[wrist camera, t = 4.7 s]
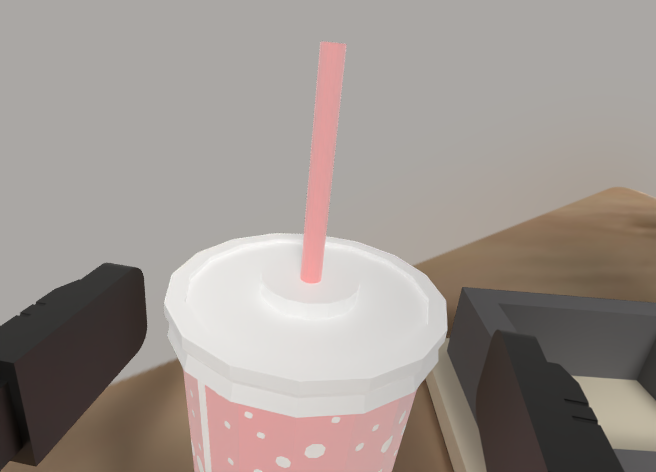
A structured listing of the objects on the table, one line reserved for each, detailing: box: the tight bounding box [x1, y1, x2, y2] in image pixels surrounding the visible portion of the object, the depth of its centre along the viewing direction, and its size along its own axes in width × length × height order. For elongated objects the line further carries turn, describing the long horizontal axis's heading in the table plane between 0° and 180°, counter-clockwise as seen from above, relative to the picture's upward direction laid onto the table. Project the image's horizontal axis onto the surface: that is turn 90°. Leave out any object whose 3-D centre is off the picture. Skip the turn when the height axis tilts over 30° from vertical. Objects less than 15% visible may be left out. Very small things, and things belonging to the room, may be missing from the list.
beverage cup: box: [164, 42, 447, 472], centre depth 11 cm, size 6×6×14 cm
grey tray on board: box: [425, 287, 656, 472], centre depth 17 cm, size 12×12×4 cm
